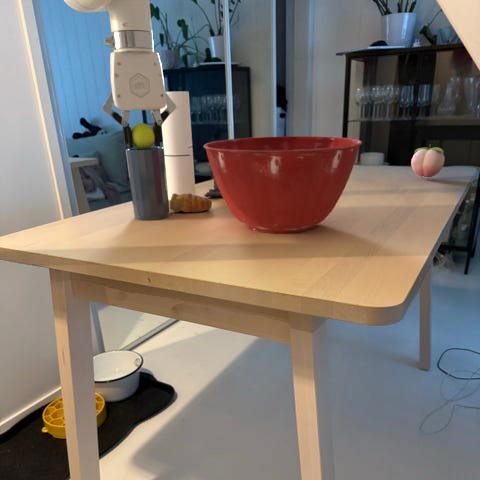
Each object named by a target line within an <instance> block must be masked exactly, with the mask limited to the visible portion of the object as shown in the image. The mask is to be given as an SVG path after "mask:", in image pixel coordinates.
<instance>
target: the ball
mask: <svg viewBox="0 0 480 480" xmlns="http://www.w3.org/2000/svg"><path fill="white" fill-rule="evenodd" d="M131 133H132V142H133V146H135V148H139V149H148V148H150V147H153V146H154V142H155V133H154V130H153V127H151V126H150V125H149V124H148V123H144V122H139V123H136V124H135V125H134V126H133V127H131Z"/></svg>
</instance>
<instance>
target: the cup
mask: <svg viewBox="0 0 480 480" xmlns="http://www.w3.org/2000/svg"><path fill="white" fill-rule="evenodd" d="M125 155H126V162H127V170H128V171H127V172H128V178H129V186H130V194H131V195H130V196H131V202H132V210H133V211H132V212H133V216H134V219H135V220H139V221H157V220H163V219H167V218H169V217H170V211H171V210H170V202H169V201H170V200H169V199H168V188H167V177H166V166H165V155H164V147H161V146H160V147H157V146H152V147H150V148H148V149H139V148H137V147H132V148H127V149H125Z"/></svg>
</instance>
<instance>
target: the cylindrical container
mask: <svg viewBox="0 0 480 480" xmlns="http://www.w3.org/2000/svg"><path fill="white" fill-rule="evenodd" d="M165 92H166V93H167V95H168V96H169V97H170V99H171V100H172V101H173V102H174V104H175V105H176V109H175V110H174V111H173V112H172V113H171V114H170V115H169V116H168V117H167V119H166V120H165V121H164V122H163V124H162V125H161V129H162V143H163V148H164V157H165V168H166V179H167V190H168V201H171V197H172V194H174V193H176V194H178V195H181V194H189V193H190V194H192V195H197V193H196V181H195V179H196V178H195V165H194V150H193V138H192V137H193V135H192V120H191V106H190V94H189V93H190V92H189V91H187V90H186V91H185V90H184V91H183V90H182V91H165ZM166 108H167V105H166V106H165V107H164V108H162V109H159V112H160V114H161V113H162V112H163V111H164V110H165V109H166Z"/></svg>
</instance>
